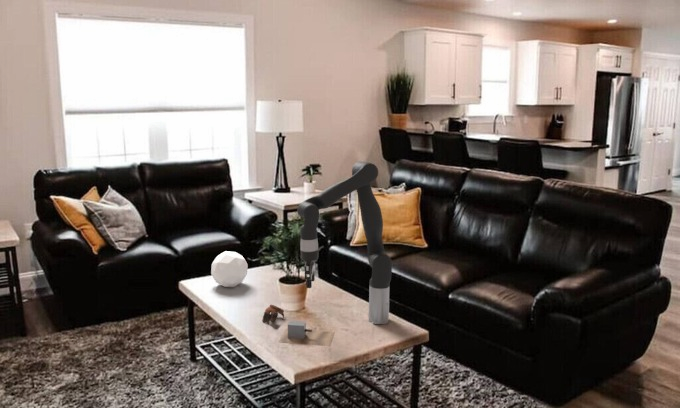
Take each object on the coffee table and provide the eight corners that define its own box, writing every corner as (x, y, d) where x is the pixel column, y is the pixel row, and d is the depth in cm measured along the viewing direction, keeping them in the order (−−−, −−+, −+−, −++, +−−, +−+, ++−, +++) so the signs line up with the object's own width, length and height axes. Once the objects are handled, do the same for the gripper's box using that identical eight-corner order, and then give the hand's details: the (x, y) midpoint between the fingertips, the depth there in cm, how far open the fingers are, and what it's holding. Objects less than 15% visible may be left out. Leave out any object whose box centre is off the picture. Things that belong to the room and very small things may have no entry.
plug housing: (312, 335, 249) (312, 322, 247) (310, 339, 244) (310, 326, 243) (290, 333, 250) (289, 320, 249) (287, 338, 246) (287, 324, 244)
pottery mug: (259, 318, 271) (267, 302, 272) (278, 326, 272) (285, 310, 274) (262, 322, 259) (270, 305, 260) (281, 330, 261) (289, 313, 262)
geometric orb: (239, 298, 313) (252, 276, 301) (203, 288, 307) (215, 265, 295) (242, 272, 327) (254, 249, 316) (208, 262, 321) (219, 239, 309)
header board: (334, 335, 253) (334, 324, 252) (330, 349, 239) (330, 338, 238) (285, 331, 255) (285, 321, 254) (278, 345, 242) (278, 334, 241)
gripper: (315, 253, 239) (316, 290, 242) (320, 243, 253) (321, 278, 256) (297, 253, 240) (299, 290, 243) (303, 243, 253) (304, 278, 257)
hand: (310, 284), depth 250 cm, fingers open, 8 cm apart
